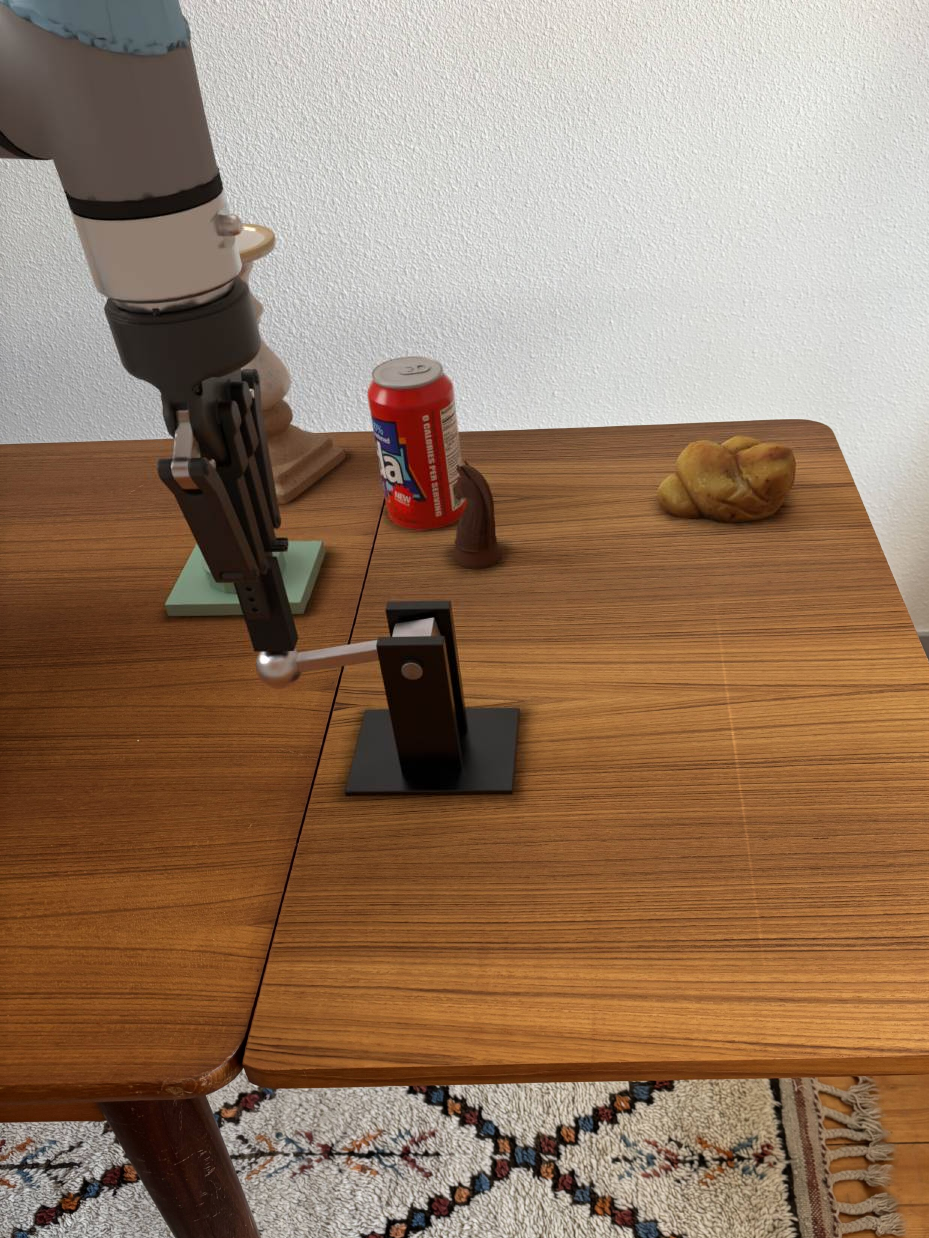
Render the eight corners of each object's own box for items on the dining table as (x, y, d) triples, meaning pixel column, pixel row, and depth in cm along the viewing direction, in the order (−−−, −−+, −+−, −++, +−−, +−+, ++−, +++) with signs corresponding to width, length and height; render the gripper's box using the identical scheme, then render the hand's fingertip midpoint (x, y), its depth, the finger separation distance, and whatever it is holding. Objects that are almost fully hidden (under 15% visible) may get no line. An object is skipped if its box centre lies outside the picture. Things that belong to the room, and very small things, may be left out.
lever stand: (347, 805, 76) (311, 665, 67) (367, 722, 82) (337, 585, 73) (513, 804, 75) (499, 662, 66) (520, 720, 82) (508, 582, 73)
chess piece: (480, 544, 100) (469, 447, 94) (516, 564, 98) (508, 465, 91) (443, 564, 98) (430, 467, 91) (480, 585, 95) (469, 485, 89)
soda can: (474, 529, 102) (457, 380, 92) (394, 543, 101) (368, 393, 91) (460, 491, 108) (443, 346, 98) (384, 503, 107) (359, 358, 97)
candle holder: (268, 446, 117) (210, 215, 101) (349, 463, 114) (303, 227, 97) (203, 491, 110) (130, 251, 94) (287, 512, 106) (226, 265, 90)
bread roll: (656, 534, 101) (658, 457, 95) (656, 483, 108) (657, 409, 102) (792, 533, 100) (802, 456, 94) (783, 483, 107) (791, 407, 101)
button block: (171, 625, 93) (157, 587, 90) (203, 562, 100) (191, 526, 97) (305, 622, 92) (295, 584, 90) (327, 560, 100) (318, 523, 97)
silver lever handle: (262, 701, 73) (243, 665, 71) (272, 672, 75) (254, 637, 73) (441, 673, 71) (427, 636, 69) (446, 644, 73) (433, 607, 71)
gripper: (209, 331, 50) (311, 706, 66) (272, 242, 60) (348, 589, 76) (57, 336, 51) (195, 708, 67) (143, 247, 60) (246, 591, 76)
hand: (276, 644), depth 71 cm, fingers closed
